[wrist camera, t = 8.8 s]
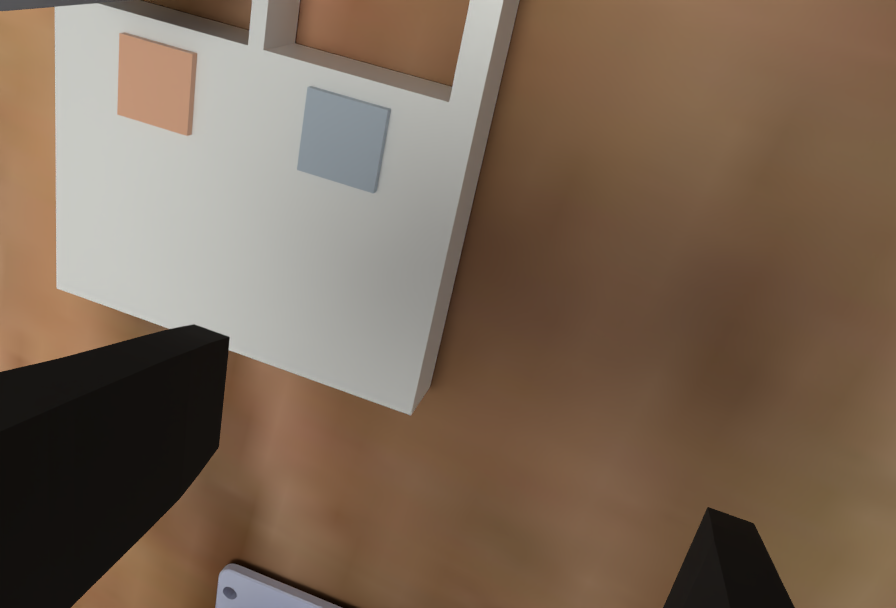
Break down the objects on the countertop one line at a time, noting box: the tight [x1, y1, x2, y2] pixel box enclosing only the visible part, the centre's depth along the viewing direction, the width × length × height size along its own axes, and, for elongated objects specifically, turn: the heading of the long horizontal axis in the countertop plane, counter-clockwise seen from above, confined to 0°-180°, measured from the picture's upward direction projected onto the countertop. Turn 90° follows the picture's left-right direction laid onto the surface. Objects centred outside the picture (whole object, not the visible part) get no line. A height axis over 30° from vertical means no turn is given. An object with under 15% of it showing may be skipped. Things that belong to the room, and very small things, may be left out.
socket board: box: [55, 0, 520, 415], centre depth 20 cm, size 14×11×2 cm
